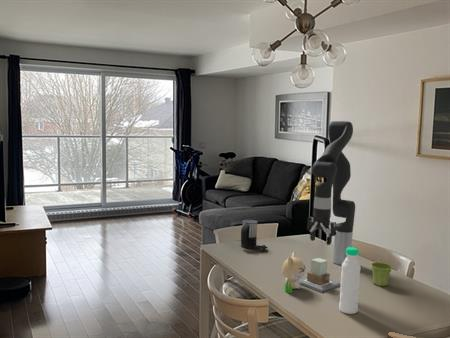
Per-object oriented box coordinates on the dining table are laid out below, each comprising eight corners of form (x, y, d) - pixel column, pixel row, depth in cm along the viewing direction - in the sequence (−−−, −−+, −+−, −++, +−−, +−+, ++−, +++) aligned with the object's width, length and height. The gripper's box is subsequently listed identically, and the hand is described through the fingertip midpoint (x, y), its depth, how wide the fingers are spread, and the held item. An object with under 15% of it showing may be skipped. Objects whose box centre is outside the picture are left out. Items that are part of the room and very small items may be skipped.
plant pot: (390, 282, 209) (392, 264, 208) (391, 289, 200) (392, 270, 199) (369, 279, 212) (371, 261, 211) (369, 285, 203) (370, 267, 202)
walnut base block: (316, 277, 207) (317, 269, 207) (329, 282, 202) (329, 273, 202) (307, 281, 203) (307, 272, 202) (319, 285, 198) (320, 276, 197)
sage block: (317, 270, 205) (318, 257, 205) (326, 273, 202) (327, 260, 201) (310, 272, 202) (311, 259, 202) (319, 275, 198) (320, 262, 198)
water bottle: (336, 307, 178) (340, 245, 175) (353, 307, 178) (357, 245, 176) (342, 314, 171) (346, 250, 168) (360, 314, 172) (364, 251, 169)
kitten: (300, 295, 188) (302, 261, 187) (277, 291, 192) (278, 257, 190) (306, 284, 202) (308, 251, 201) (284, 280, 206) (286, 248, 204)
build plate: (315, 276, 212) (315, 273, 212) (340, 285, 202) (340, 282, 202) (295, 282, 203) (296, 279, 203) (321, 292, 193) (321, 289, 193)
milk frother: (242, 243, 266) (243, 219, 264) (268, 245, 263) (269, 220, 262) (238, 250, 252) (239, 224, 250) (267, 252, 249) (268, 226, 248)
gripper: (341, 208, 196) (338, 244, 198) (314, 203, 206) (312, 237, 208) (330, 210, 191) (328, 247, 193) (304, 205, 201) (302, 240, 203)
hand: (320, 242), depth 200 cm, fingers open, 8 cm apart
